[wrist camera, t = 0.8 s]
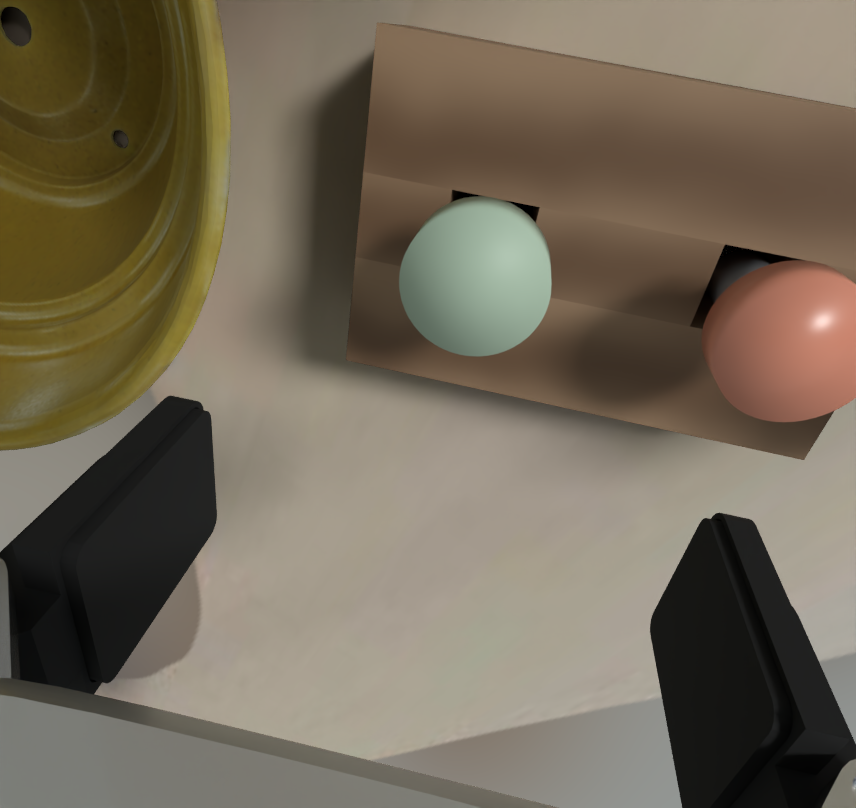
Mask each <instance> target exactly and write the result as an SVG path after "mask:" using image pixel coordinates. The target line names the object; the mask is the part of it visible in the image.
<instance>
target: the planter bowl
mask: <svg viewBox="0 0 856 808" xmlns="http://www.w3.org/2000/svg"><path fill="white" fill-rule="evenodd" d="M7 7H16V8H18V9H20V10H21V11H22V12H23V13H24V14H25V15H26V17H27V19H28V21H29V23H30V26H31V40H30V41H29V43H28V44H26V45H24V46H18V45H16V44H15V43H13V42H12V41H11V40H10V39H9V38H8V37H7V36H6V34H5V32H4V30H3V28H2V24H1V13H2V11H3V10H4V8H7ZM117 130H120V131H122V132H124V133H125V134H126V136H127V137H128V145H127V147H126V148H121V147H119V146H117V144H116V143H115V142H114V139H113V135H114V132H115V131H117ZM229 182H230V105H229V91H228V78H227V68H226V60H225V52H224V44H223V36H222V28H221V22H220V16H219V11H218V5H217V0H0V450H17V449H24V448H31V447H37V446H42V445H47V444H51V443H55V442H58V441H61V440H64V439H66V438H69V437H73V436H76V435H78V434H81V433H83V432H85V431H87V430H90V429H91V428H94V427H96V426H98V425H100V424H102V423H104V422H106V421H108V420H109V419H111V418H113V417H114V416H116V415H118V414H119V413H120V412H122V411H123V410H124V409H125V408H127V407H128V406H129V405H130V404H131V403H133V402H134V401H136V400H137V399H138V398H140V397H141V396H142V395H143V394H144V393H145V392H146V391H147V390H148V389H149V388H150V387H151V386H152V385H153V383H154V382H155V381H156V380H157V379H158V378H159V377H160V376H161V375H162V374H163V372H164V371H165V370H166V369H167V368H168V366H169V365H170V364H171V362H172V361H173V359H174V358H175V356H176V355H177V354H178V352H179V351H180V349H181V348H182V346H183V344H184V343H185V341H186V339H187V337H188V336H189V334H190V332H191V331H192V329H193V327H194V325H195V322H196V320H197V318H198V316H199V314H200V311H201V309H202V306H203V304H204V301H205V299H206V296H207V293H208V290H209V287H210V284H211V281H212V278H213V275H214V271H215V267H216V263H217V259H218V255H219V251H220V247H221V243H222V237H223V230H224V224H225V218H226V212H227V203H228V193H229Z"/></svg>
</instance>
